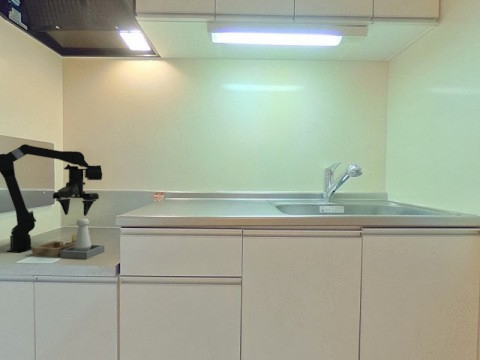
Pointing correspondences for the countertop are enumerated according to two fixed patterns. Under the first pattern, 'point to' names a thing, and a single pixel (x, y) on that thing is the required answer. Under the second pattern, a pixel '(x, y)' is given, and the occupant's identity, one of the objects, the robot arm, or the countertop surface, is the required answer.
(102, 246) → the tray
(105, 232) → the countertop surface
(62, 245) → the key
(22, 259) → the countertop surface
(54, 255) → the socket block
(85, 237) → the salt shaker
